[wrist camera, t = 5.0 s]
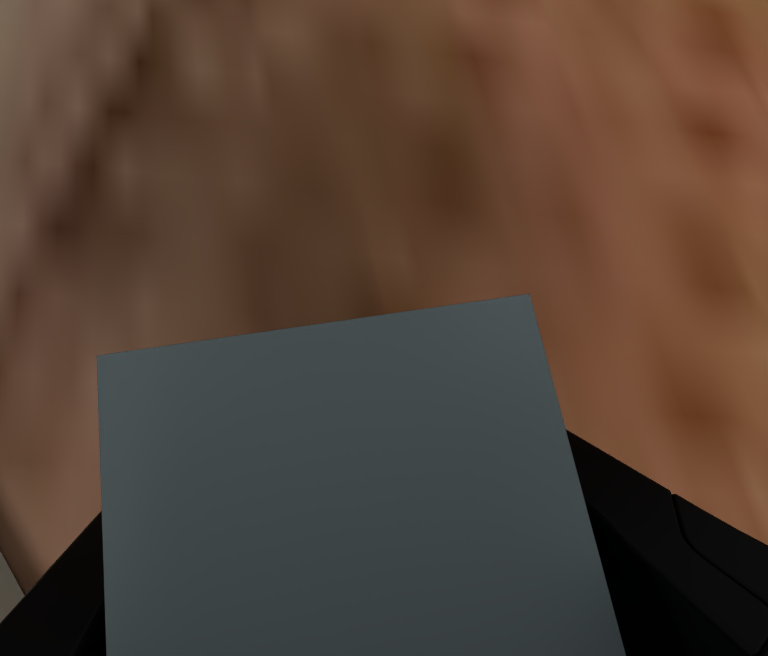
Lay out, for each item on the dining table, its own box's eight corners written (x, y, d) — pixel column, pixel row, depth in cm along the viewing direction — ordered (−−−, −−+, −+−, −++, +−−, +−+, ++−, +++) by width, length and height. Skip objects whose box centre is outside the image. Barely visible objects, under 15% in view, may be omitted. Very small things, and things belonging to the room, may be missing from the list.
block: (434, 550, 14) (656, 770, 4) (270, 587, 13) (116, 946, 4) (403, 390, 15) (529, 294, 6) (251, 416, 14) (96, 355, 5)
